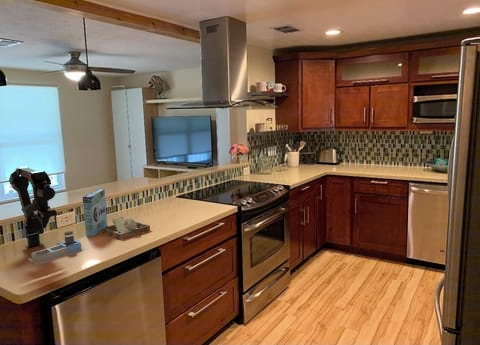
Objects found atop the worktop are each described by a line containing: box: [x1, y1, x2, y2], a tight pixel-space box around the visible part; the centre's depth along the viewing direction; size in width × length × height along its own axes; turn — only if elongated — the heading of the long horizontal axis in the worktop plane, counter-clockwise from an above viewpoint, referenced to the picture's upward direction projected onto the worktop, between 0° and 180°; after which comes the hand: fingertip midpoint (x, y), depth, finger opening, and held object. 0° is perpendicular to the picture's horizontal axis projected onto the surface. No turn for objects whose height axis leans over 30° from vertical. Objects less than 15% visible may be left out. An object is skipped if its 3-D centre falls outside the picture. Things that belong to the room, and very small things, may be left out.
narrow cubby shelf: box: [27, 239, 88, 266], centre depth 175 cm, size 12×23×5 cm, turn 140°
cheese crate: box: [101, 220, 151, 241], centre depth 209 cm, size 19×19×3 cm
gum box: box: [82, 188, 108, 238], centre depth 210 cm, size 20×5×23 cm, turn 178°
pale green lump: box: [112, 215, 137, 234], centre depth 206 cm, size 15×7×15 cm
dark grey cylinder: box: [63, 230, 75, 246], centre depth 180 cm, size 4×4×9 cm
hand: (44, 228), depth 178 cm, fingers closed
